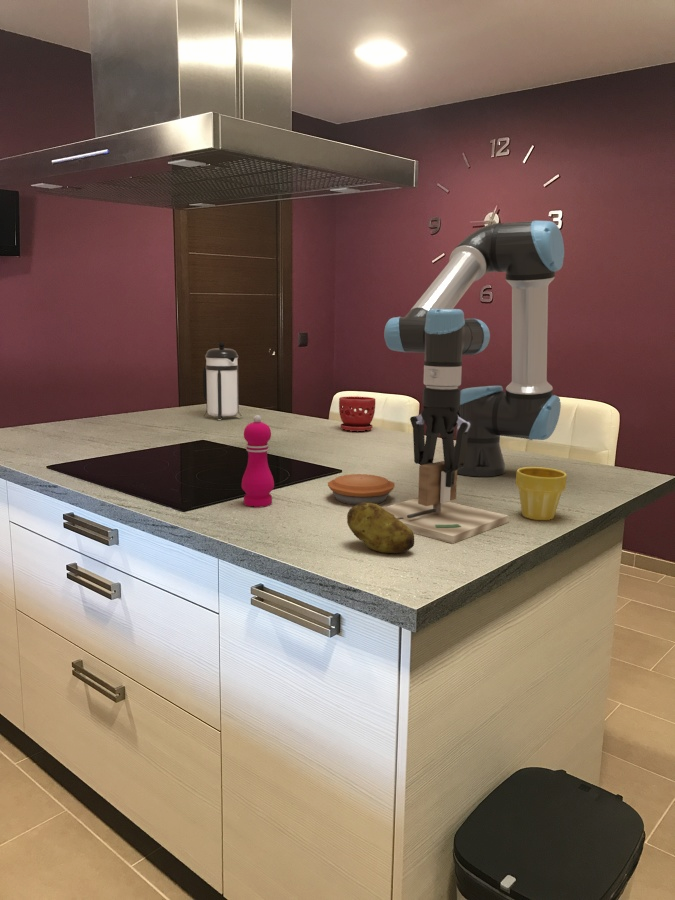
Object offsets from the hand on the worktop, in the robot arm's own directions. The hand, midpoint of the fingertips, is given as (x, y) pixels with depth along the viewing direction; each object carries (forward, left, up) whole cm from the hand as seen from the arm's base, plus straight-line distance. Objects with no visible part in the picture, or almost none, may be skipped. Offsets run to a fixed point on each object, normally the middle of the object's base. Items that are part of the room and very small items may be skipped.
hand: (437, 499), depth 150 cm
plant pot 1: (-73, -89, -5) cm, 115 cm away
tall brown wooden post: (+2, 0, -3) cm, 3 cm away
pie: (-2, -23, -5) cm, 24 cm away
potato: (+22, +3, -5) cm, 23 cm away
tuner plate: (0, 0, -5) cm, 5 cm away
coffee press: (-54, -145, -5) cm, 155 cm away
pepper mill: (+18, -36, -5) cm, 41 cm away
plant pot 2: (-19, +13, -5) cm, 23 cm away
